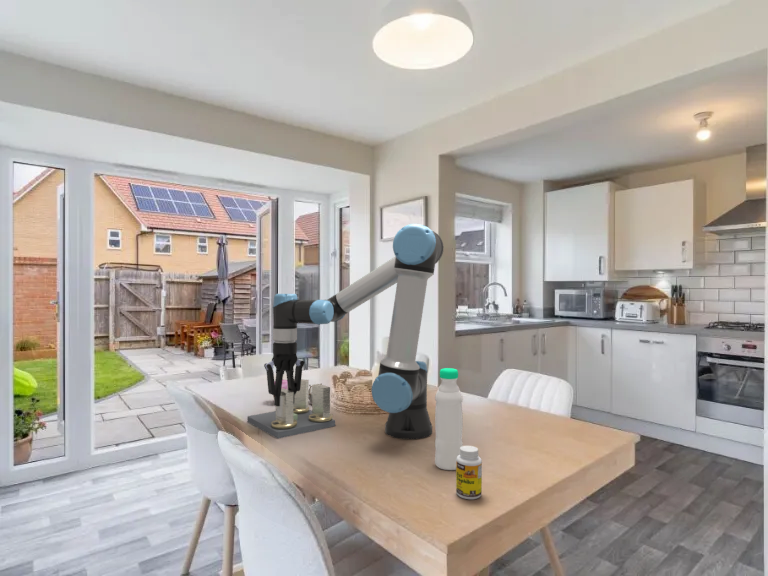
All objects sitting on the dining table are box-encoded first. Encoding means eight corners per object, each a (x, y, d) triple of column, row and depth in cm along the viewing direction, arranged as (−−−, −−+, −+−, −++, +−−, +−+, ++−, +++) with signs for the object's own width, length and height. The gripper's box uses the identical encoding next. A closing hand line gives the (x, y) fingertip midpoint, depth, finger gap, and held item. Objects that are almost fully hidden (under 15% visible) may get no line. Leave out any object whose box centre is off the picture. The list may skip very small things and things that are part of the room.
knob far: (312, 408, 162) (312, 378, 162) (304, 414, 154) (304, 382, 155) (291, 407, 164) (292, 377, 164) (282, 412, 156) (283, 381, 156)
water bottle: (429, 465, 114) (429, 368, 115) (446, 458, 119) (446, 365, 120) (451, 473, 109) (451, 372, 110) (468, 466, 114) (468, 369, 115)
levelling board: (335, 425, 149) (335, 414, 149) (277, 438, 135) (277, 425, 135) (301, 411, 166) (301, 401, 166) (247, 421, 153) (247, 410, 153)
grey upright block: (337, 419, 149) (337, 386, 149) (316, 423, 143) (317, 389, 144) (324, 414, 155) (324, 382, 155) (304, 418, 150) (304, 385, 150)
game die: (319, 414, 177) (325, 397, 171) (300, 406, 177) (305, 389, 172) (327, 398, 184) (332, 382, 179) (308, 391, 185) (313, 374, 179)
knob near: (301, 425, 141) (301, 391, 141) (278, 430, 136) (278, 394, 136) (289, 420, 147) (289, 386, 147) (267, 424, 142) (267, 390, 142)
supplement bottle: (451, 496, 97) (452, 449, 97) (462, 487, 102) (462, 442, 102) (475, 503, 94) (475, 454, 94) (485, 493, 98) (485, 447, 99)
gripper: (300, 339, 150) (300, 408, 149) (256, 342, 140) (256, 416, 139) (312, 341, 144) (311, 413, 144) (267, 344, 134) (266, 422, 134)
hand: (284, 414), depth 142 cm, fingers closed on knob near, 3 cm apart
